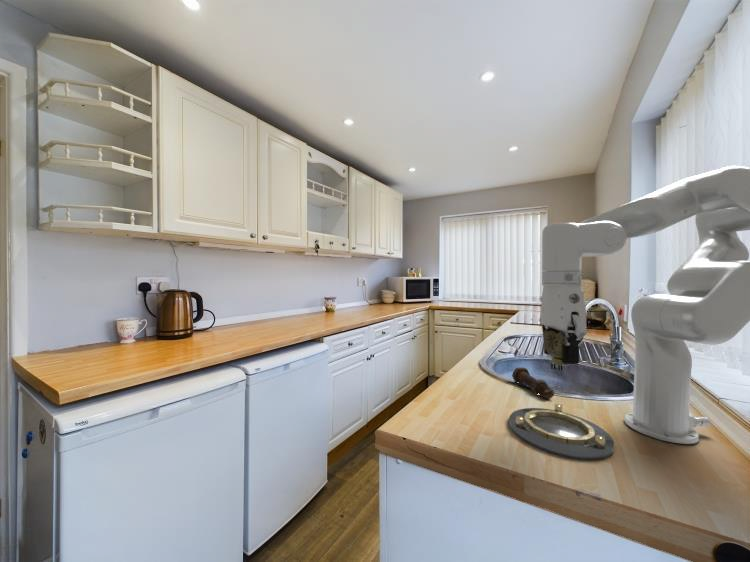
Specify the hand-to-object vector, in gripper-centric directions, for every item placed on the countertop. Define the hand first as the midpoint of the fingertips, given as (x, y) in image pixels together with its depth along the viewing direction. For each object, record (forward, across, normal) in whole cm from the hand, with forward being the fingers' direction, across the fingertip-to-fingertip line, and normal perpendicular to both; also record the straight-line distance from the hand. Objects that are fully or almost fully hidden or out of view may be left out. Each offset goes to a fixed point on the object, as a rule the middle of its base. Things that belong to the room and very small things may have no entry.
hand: (560, 357), depth 68 cm
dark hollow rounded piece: (+1, 0, 0) cm, 1 cm away
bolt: (+18, +26, -6) cm, 32 cm away
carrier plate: (+17, 0, +1) cm, 17 cm away
